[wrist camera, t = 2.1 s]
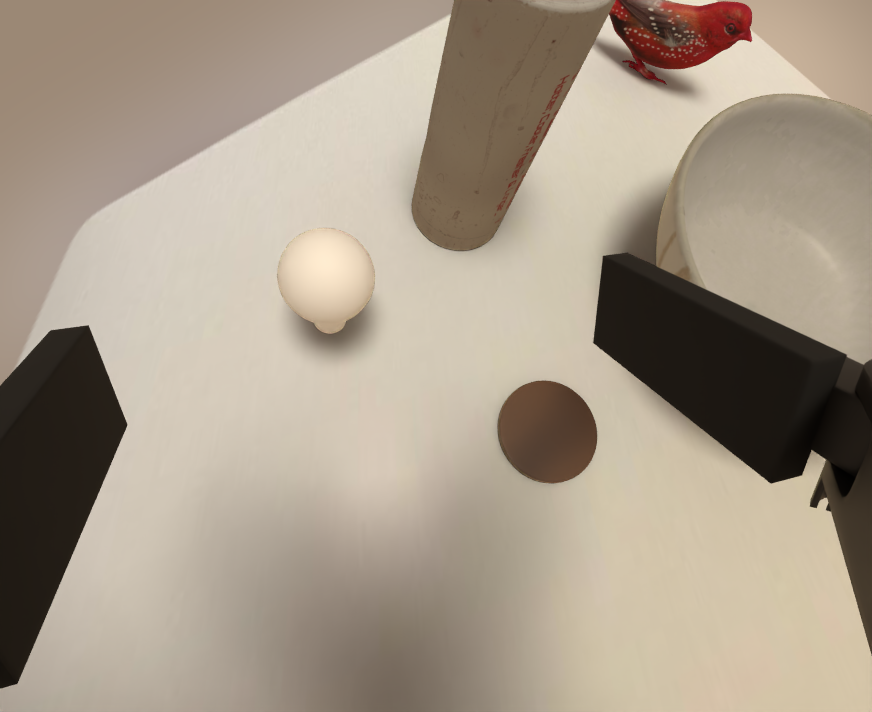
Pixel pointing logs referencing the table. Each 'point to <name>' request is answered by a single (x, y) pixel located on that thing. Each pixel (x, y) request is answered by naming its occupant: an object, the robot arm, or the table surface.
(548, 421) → the walnut coaster
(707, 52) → the decorative bird figurine
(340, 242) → the lightbulb
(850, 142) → the decorative bowl
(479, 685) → the table surface
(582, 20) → the thermos bottle
